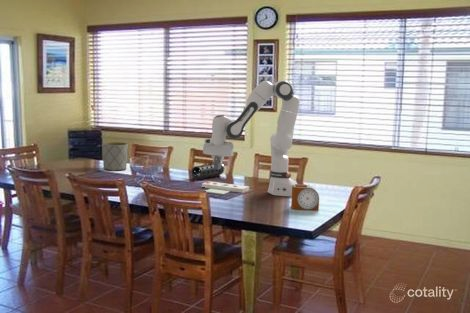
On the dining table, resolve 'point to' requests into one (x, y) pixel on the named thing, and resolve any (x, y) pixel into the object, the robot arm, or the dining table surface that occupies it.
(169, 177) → the dining table surface
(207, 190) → the mat
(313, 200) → the alarm clock
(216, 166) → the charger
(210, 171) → the muzzle brake
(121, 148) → the planter
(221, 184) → the socket bar
